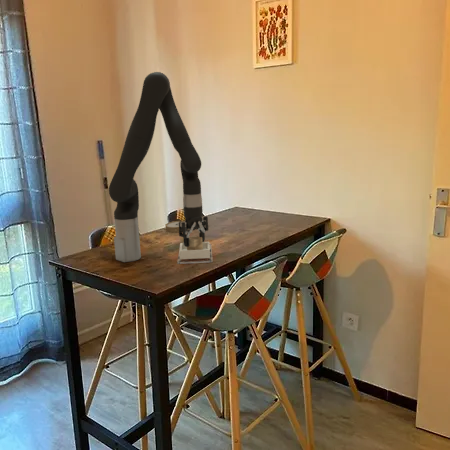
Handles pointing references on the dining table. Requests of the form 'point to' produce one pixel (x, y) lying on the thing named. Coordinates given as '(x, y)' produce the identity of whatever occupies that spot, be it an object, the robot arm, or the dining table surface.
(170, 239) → the dining table surface
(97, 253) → the dining table surface
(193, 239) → the block
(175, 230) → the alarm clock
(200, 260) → the track
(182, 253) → the shallow white tray
